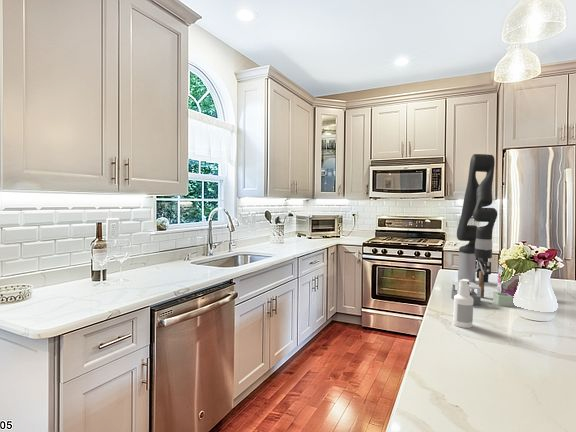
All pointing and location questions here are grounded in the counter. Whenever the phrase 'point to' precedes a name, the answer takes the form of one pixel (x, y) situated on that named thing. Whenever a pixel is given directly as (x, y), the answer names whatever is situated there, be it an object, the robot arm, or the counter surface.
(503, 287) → the candy bar box
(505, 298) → the green square hole block
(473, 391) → the counter surface
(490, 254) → the robot arm
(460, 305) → the spray bottle
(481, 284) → the walnut dowel
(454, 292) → the box
